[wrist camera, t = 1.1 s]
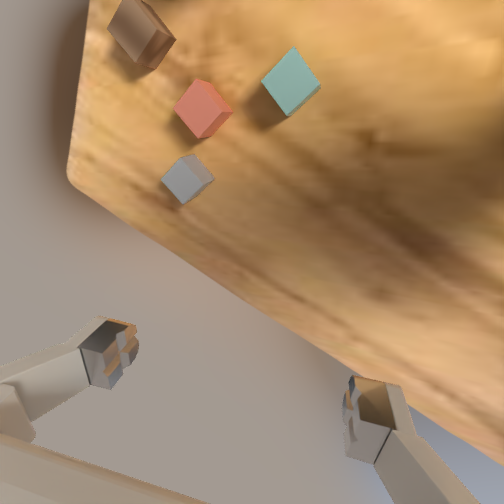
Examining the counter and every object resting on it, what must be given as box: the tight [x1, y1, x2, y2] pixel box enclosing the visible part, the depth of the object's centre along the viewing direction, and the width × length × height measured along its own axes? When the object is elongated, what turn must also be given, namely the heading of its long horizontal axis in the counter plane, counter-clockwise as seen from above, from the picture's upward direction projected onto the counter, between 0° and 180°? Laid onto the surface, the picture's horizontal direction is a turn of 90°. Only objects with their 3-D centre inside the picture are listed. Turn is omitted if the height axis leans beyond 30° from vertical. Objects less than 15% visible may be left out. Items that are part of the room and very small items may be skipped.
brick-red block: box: [173, 79, 233, 138], centre depth 38 cm, size 5×5×5 cm
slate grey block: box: [161, 154, 215, 204], centre depth 43 cm, size 5×5×5 cm
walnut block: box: [107, 0, 176, 69], centre depth 36 cm, size 5×5×5 cm
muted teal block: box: [261, 46, 321, 116], centre depth 34 cm, size 5×5×5 cm
